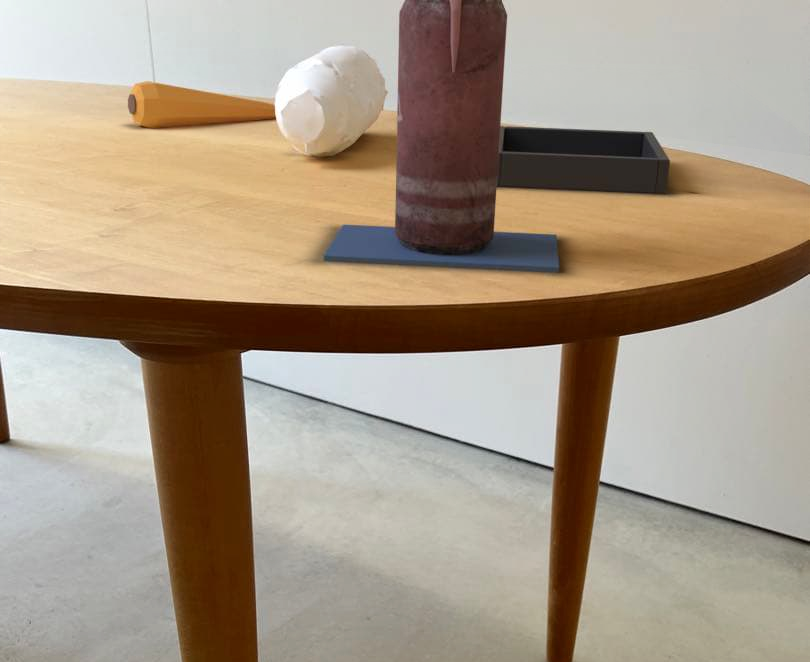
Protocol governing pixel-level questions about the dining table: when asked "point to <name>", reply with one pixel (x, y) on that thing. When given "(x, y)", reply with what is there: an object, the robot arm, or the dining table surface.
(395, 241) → the blue-grey flat slab
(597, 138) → the dark grey open box
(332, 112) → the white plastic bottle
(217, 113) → the carrot
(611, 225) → the dining table surface
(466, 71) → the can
